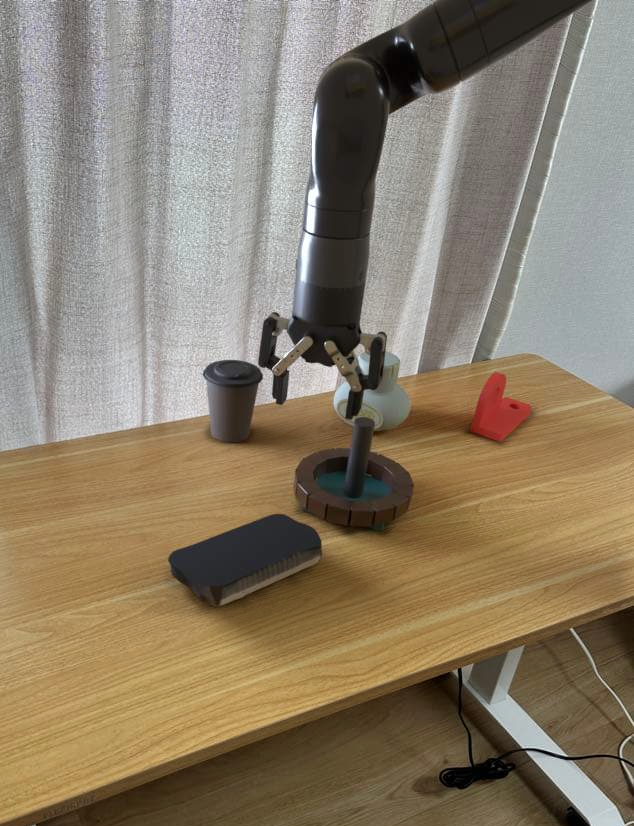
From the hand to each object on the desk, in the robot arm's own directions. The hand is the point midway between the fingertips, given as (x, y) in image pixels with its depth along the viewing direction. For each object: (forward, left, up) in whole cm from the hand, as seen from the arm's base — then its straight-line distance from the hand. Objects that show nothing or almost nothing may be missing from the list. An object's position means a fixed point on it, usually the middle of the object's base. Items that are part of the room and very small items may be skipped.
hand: (315, 409), depth 96 cm
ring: (-6, 0, -10) cm, 12 cm away
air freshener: (-3, -21, -11) cm, 24 cm away
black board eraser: (+1, +19, -11) cm, 22 cm away
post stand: (-6, 0, -11) cm, 13 cm away
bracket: (-21, -30, -11) cm, 38 cm away
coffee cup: (+14, -9, -11) cm, 20 cm away
